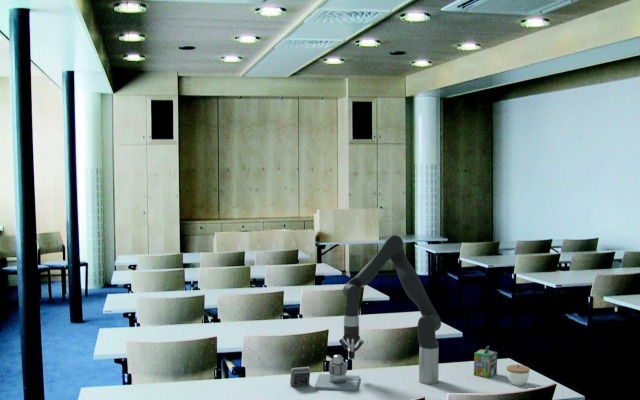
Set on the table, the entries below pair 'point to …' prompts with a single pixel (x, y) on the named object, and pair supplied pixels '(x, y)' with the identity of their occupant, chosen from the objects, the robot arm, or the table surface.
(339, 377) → the post
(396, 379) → the table surface
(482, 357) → the chalk box
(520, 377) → the lidded jar
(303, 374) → the electrical switch
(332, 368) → the coupling
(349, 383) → the base board
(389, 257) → the robot arm
